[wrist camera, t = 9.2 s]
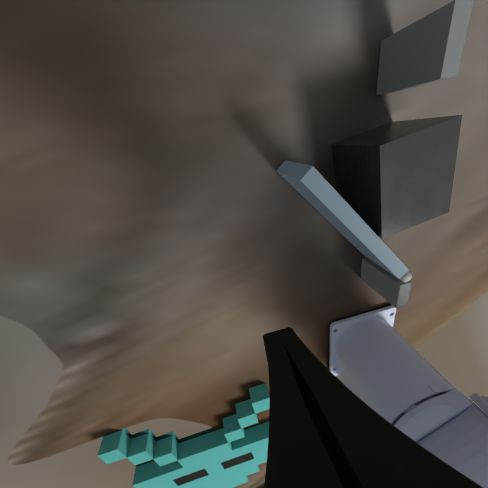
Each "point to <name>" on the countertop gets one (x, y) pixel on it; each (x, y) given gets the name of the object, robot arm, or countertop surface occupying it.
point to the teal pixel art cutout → (197, 451)
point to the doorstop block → (399, 172)
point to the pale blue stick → (340, 215)
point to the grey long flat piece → (411, 75)
